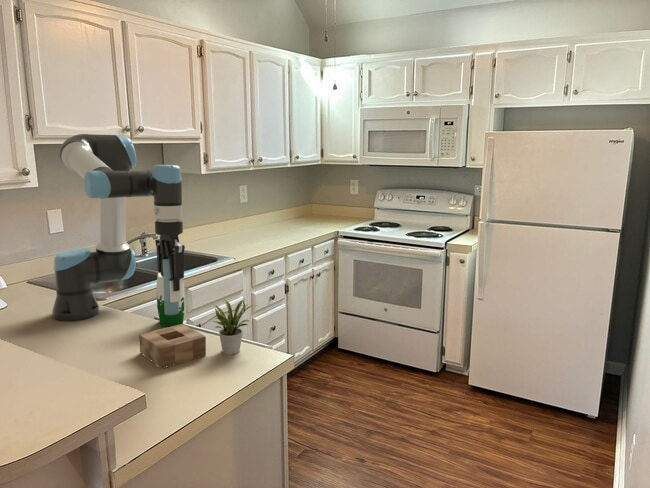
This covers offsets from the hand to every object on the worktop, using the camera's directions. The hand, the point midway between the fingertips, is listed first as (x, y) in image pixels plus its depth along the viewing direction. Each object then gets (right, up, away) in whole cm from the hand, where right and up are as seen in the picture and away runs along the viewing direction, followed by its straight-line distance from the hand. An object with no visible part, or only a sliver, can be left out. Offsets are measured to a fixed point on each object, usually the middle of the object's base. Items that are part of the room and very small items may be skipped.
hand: (171, 299), depth 143 cm
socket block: (-1, -17, +3) cm, 17 cm away
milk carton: (-9, -12, +29) cm, 33 cm away
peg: (0, -4, +1) cm, 4 cm away
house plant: (+17, -17, +8) cm, 25 cm away
